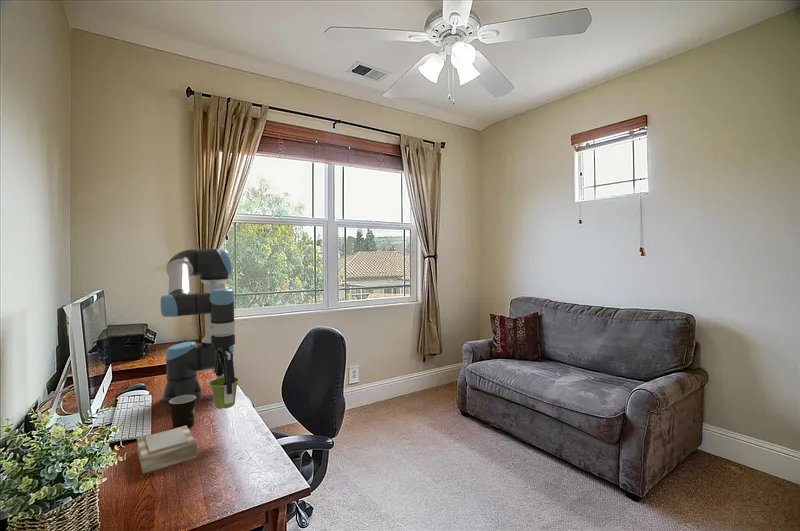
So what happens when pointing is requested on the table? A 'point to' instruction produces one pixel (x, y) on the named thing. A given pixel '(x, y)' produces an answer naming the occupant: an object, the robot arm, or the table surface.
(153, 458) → the wooden stand
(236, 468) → the table surface
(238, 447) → the table surface
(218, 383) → the plant pot
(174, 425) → the coffee mug
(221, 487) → the table surface
